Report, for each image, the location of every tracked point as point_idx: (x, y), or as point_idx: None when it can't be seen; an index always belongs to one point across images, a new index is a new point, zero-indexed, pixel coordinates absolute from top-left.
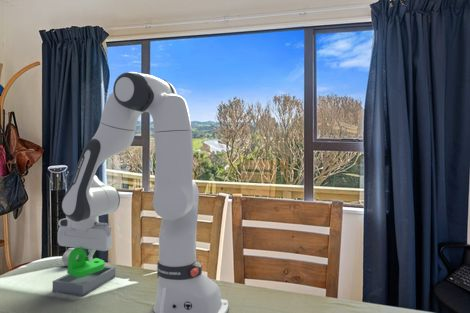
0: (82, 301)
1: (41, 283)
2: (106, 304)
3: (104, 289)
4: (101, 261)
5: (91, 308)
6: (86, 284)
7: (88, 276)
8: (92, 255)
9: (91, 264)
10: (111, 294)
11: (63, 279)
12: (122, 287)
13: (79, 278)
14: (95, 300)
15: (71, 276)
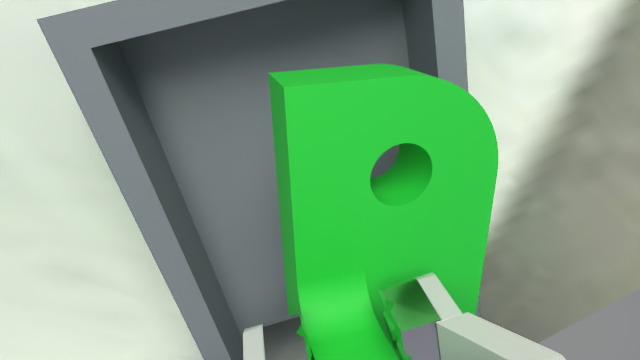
0: (487, 313)
1: (14, 342)
2: (621, 267)
3: (498, 163)
4: (433, 119)
5: (575, 322)
6: (477, 307)
7: (223, 107)
8: (471, 323)
9: (413, 255)
10: (584, 185)
11: (226, 337)
12: (597, 72)
13: (201, 179)
14: (542, 274)
15: (198, 265)
